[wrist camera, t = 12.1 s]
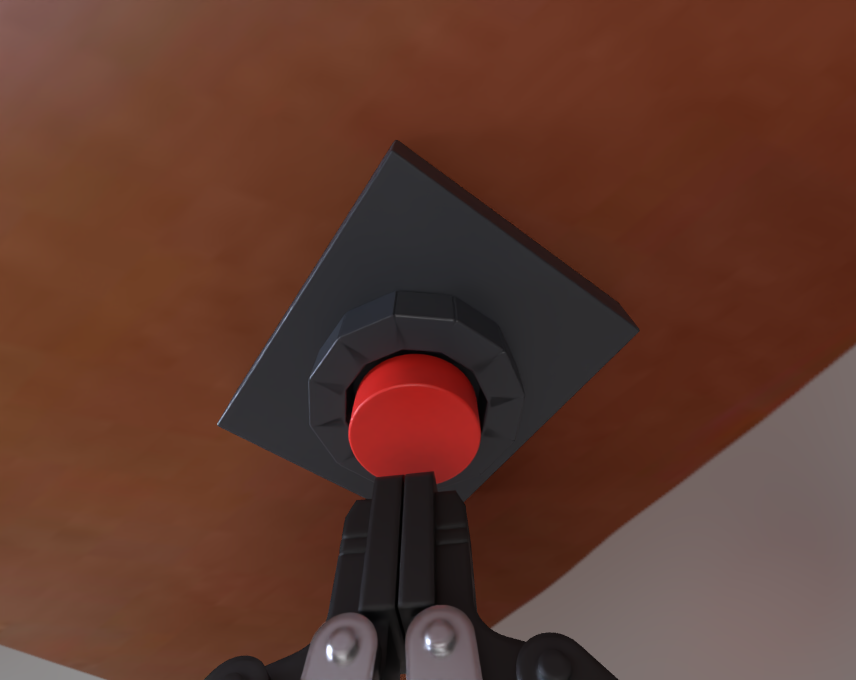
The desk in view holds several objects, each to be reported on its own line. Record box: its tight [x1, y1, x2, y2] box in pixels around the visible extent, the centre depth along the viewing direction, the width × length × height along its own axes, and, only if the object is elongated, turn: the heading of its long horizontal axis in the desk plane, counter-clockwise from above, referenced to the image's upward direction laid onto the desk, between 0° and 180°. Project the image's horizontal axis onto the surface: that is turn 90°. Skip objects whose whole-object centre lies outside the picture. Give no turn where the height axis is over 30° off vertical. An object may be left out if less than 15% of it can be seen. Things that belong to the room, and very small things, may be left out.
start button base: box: [218, 140, 639, 502], centre depth 18 cm, size 12×10×4 cm
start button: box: [348, 354, 481, 484], centre depth 16 cm, size 4×4×2 cm
